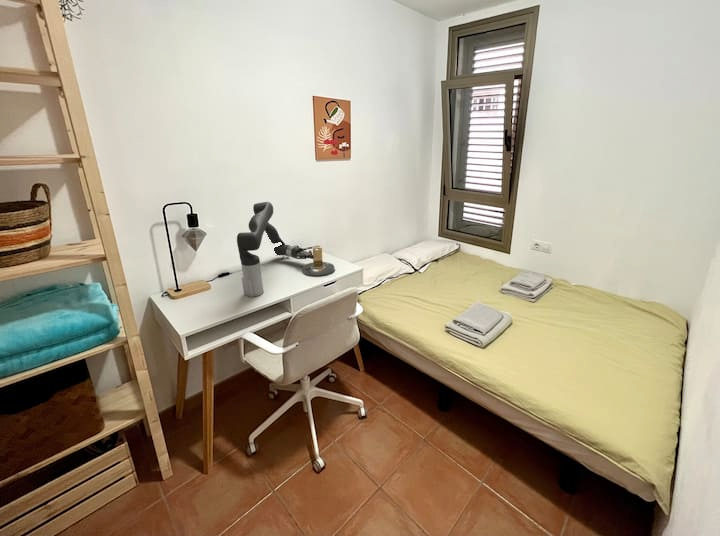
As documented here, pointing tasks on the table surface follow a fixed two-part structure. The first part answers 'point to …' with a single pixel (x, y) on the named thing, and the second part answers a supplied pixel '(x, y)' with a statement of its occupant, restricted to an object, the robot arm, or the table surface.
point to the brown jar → (317, 258)
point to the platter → (311, 271)
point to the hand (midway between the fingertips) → (314, 257)
